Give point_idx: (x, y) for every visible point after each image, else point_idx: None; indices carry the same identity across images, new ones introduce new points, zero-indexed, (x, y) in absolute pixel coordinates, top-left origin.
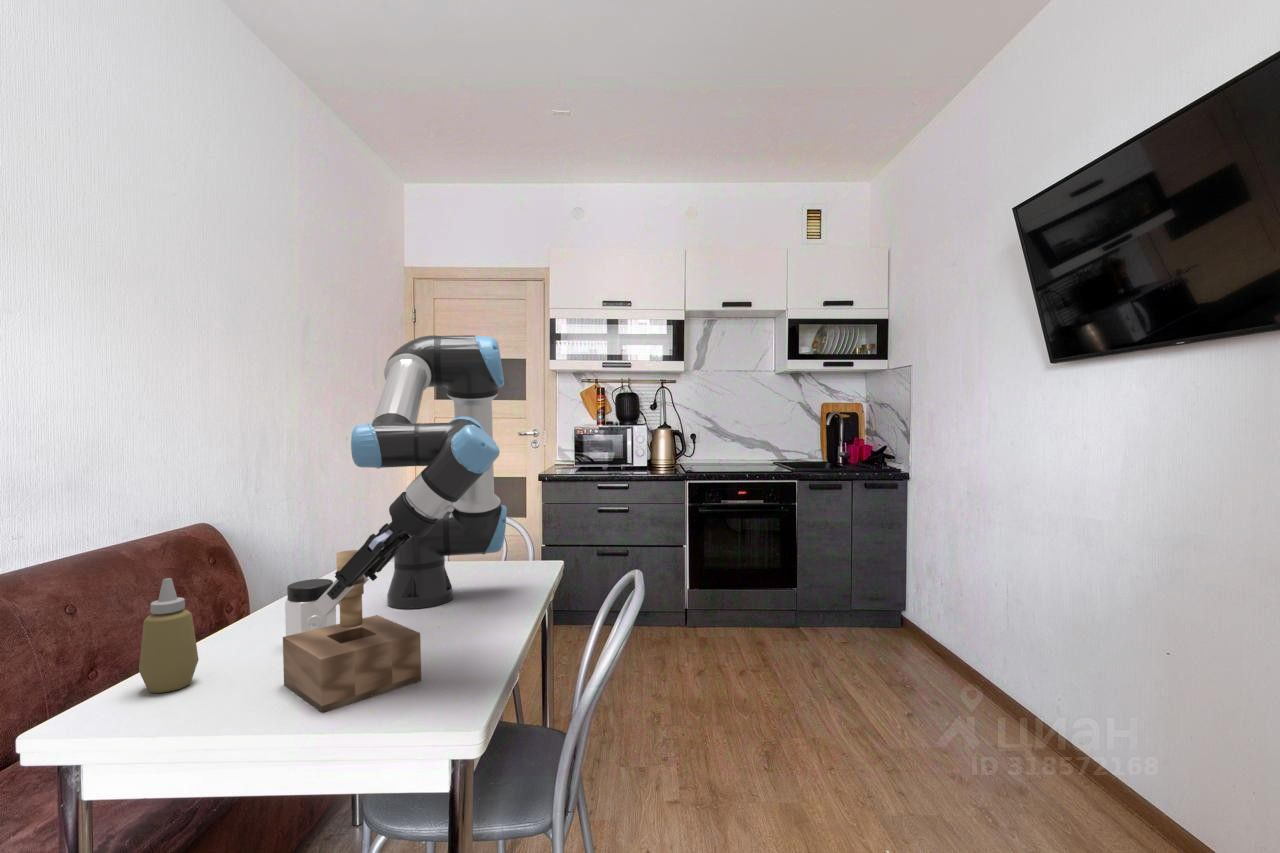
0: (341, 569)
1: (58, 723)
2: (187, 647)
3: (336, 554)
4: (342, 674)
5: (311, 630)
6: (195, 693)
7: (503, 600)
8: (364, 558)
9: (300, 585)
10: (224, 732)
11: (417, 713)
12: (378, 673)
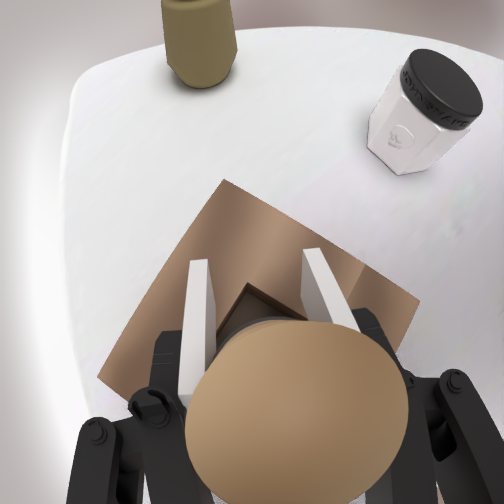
0: (72, 472)
1: (109, 63)
2: (194, 52)
3: (221, 355)
4: None
5: (281, 213)
6: (185, 113)
7: None
8: None
9: (431, 67)
10: (71, 257)
11: None
12: None
